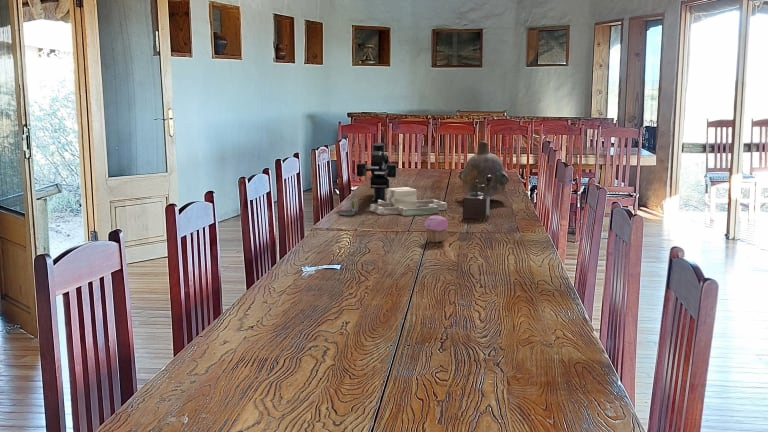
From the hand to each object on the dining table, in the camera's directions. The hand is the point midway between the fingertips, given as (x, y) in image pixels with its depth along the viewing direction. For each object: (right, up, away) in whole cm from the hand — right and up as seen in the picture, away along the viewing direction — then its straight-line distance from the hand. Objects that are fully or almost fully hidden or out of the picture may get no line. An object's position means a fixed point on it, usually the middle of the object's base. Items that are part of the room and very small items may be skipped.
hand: (374, 175), depth 354 cm
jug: (+54, -11, +30) cm, 63 cm away
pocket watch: (-11, -19, -13) cm, 25 cm away
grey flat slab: (+15, -16, +1) cm, 22 cm away
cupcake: (+24, -29, -66) cm, 76 cm away
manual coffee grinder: (+46, -19, -13) cm, 52 cm away
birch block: (+13, -15, +7) cm, 21 cm away
